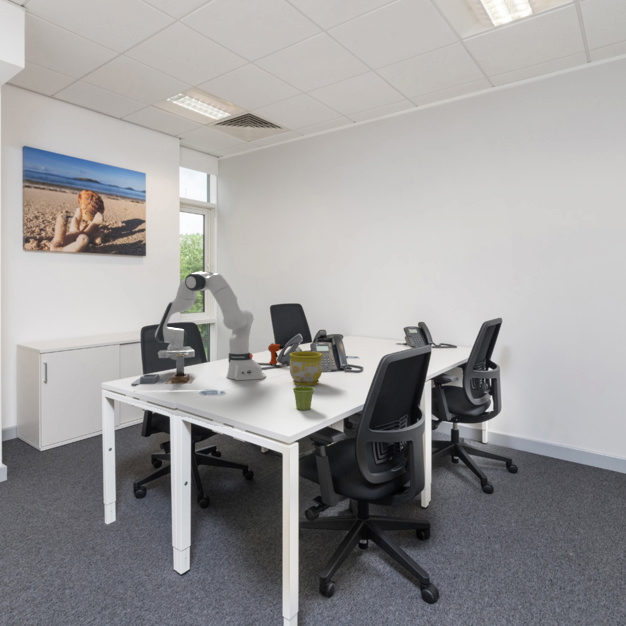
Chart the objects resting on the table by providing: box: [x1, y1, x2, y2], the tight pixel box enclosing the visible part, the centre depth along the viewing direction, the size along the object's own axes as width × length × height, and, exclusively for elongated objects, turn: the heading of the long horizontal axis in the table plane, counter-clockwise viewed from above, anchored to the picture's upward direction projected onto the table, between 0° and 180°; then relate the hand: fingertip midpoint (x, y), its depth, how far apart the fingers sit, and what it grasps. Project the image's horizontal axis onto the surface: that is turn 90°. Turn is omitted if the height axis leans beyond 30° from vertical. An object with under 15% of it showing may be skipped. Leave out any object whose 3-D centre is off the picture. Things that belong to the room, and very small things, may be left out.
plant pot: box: [292, 386, 315, 411], centre depth 187 cm, size 9×9×9 cm
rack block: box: [130, 373, 168, 386], centre depth 233 cm, size 16×12×4 cm
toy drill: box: [267, 343, 286, 364], centre depth 288 cm, size 5×19×15 cm, turn 57°
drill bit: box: [175, 353, 185, 376], centre depth 235 cm, size 4×4×15 cm
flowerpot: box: [289, 350, 323, 387], centre depth 235 cm, size 18×18×16 cm
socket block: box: [164, 373, 196, 385], centre depth 235 cm, size 14×14×4 cm
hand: (177, 355), depth 246 cm, fingers open, 8 cm apart
